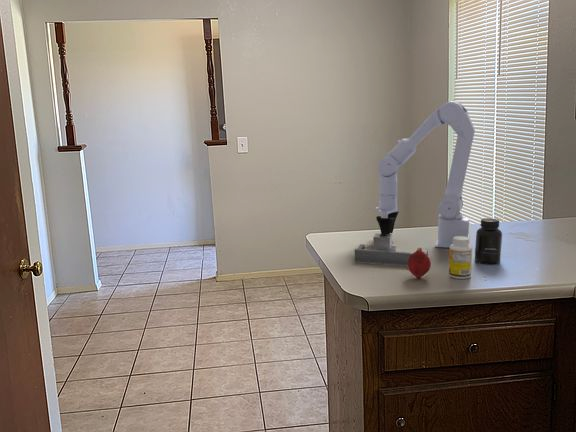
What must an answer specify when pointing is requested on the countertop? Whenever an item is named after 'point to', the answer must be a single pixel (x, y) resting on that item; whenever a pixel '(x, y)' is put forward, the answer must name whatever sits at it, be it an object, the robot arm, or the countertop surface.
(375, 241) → the block
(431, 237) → the countertop surface
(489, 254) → the supplement bottle
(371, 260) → the bracket
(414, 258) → the onion
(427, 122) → the robot arm
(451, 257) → the supplement bottle
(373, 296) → the countertop surface
